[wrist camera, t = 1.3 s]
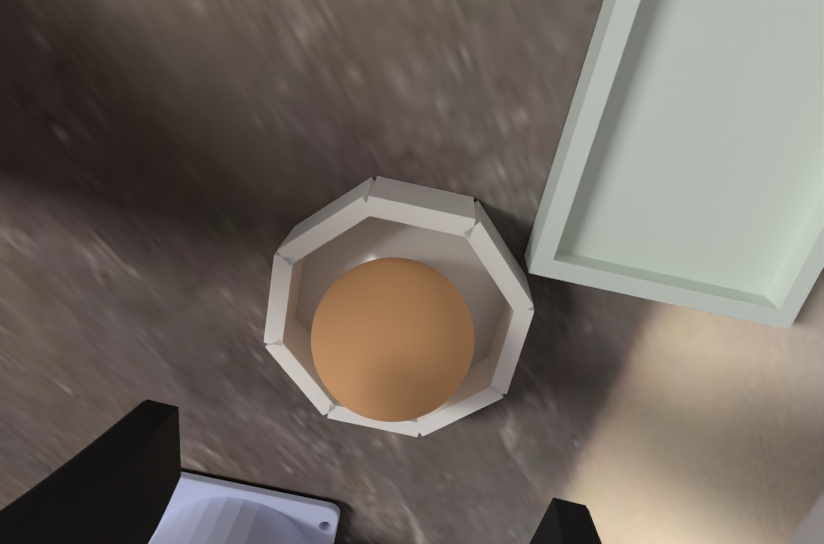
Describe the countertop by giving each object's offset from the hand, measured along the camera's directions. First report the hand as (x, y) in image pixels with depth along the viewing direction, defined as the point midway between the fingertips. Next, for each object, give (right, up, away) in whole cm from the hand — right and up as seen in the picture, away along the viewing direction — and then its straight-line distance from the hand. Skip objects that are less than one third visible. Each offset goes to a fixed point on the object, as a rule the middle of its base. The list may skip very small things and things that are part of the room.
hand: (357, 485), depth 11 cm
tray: (+10, +9, +6) cm, 15 cm away
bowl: (+1, +3, +10) cm, 10 cm away
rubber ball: (+1, +3, +9) cm, 10 cm away
